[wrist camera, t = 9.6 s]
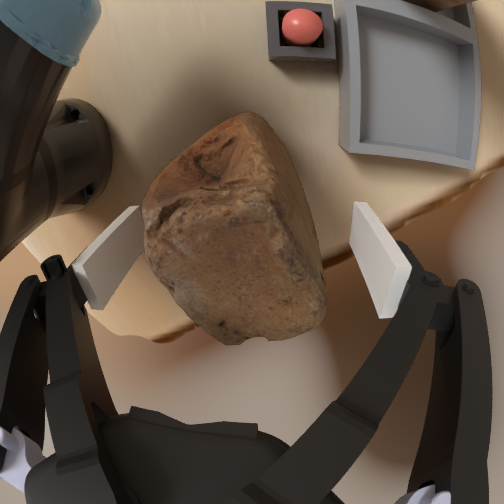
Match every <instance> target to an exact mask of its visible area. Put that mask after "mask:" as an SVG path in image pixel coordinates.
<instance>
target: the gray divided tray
mask: <svg viewBox="0 0 504 504" xmlns="http://www.w3.org/2000/svg"><path fill="white" fill-rule="evenodd" d="M334 4H335V14H336V25H337V39H338V57H339V98H340V106H339V146H341V147H342V148H343V149H345V150H346V151H347V152H348V153H360V154H372V155H382V156H391V157H399V158H407V159H414V160H421V161H428V162H434V163H440V164H445V165H451V166H456V167H461V168H466V169H470V170H474V167H475V161H476V154H477V147H478V138H479V127H480V112H481V70H480V55H479V45H478V36H477V29H476V23H475V18H474V12H473V8H472V3H471V2H468V3H465V4H461V5H457V6H454V7H451V8H447V9H444V10H441V11H438V12H433V11H431V10H428V9H425V8H423V7H420V6H417V5H414V4H411V3H408V2H405V1H402V0H334Z"/></svg>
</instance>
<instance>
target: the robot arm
mask: <svg viewBox="0 0 504 504" xmlns="http://www.w3.org/2000/svg"><path fill="white" fill-rule="evenodd" d="M100 15H101V4H100V1H99V0H0V261H1V260H2V259H3V258H4V257H5V256H6V255H7V254H9V253H10V252H11V251H12V250H13V249H14V248H15V247H16V246H17V245H18V244H19V243H20V242H21V241H22V240H24V239H25V238H26V237H27V236H28V235H29V234H30V233H32V232H33V231H34V230H35V229H36V228H37V227H39V226H40V225H41V224H42V223H43V222H44V221H46V220H47V219H48V218H52V217H56V216H60V215H64V214H68V213H72V212H76V211H79V210H81V209H83V208H84V207H86V206H87V205H88V204H90V203H91V202H92V201H94V200H95V199H96V198H97V197H98V196H99V195H100V194H101V193H102V191H103V190H104V188H105V186H106V184H107V182H108V179H109V176H110V172H111V166H112V145H111V140H110V135H109V132H108V129H107V127H106V124H105V122H104V121H103V119H102V117H101V116H100V114H99V113H98V112H97V111H96V110H95V109H94V108H93V107H92V106H91V105H90V104H88V103H86V102H84V101H82V100H79V99H64V100H59V101H56V100H57V98H58V95H59V93H60V91H61V89H62V87H63V84H64V82H65V80H66V78H67V76H68V74H69V72H70V70H71V68H72V67H74V66H76V65H77V63H78V61H79V54H80V53H81V51H82V49H83V47H84V45H85V43H86V41H87V40H88V38H89V36H90V34H91V33H92V31H93V29H94V28H95V26H96V24H97V23H98V21H99V18H100ZM144 230H145V227H144V223H143V219H142V215H141V210H140V206H129V207H128V208H127V209H126V210H125V211H124V212H123V213H122V214H121V215H120V216H119V217H117V218H116V219H115V220H114V221H113V222H112V223H111V224H110V225H109V226H108V227H107V228H106V229H105V230H104V231H103V232H102V233H101V234H100V235H99V236H98V237H97V238H96V239H95V240H94V241H93V242H92V243H91V244H90V245H89V246H88V247H86V248H85V250H84V251H83V252H82V254H80V255H79V256H78V258H76V259H75V260H74V261H73V262H72V263H71V265H70V266H69V267H68V268H66V266H65V264H64V261H63V259H62V256H61V255H54V256H51V257H49V258H47V259H46V260H45V261H44V262H43V263H42V264H41V269H42V271H43V273H44V276H45V277H46V280H47V281H44V282H40V280H39V278H38V276H37V275H31V276H28V277H27V278H25V279H24V280H23V281H22V283H21V284H20V286H19V288H18V291H17V293H16V295H15V297H14V300H13V302H12V304H11V307H10V310H9V312H8V314H7V317H6V320H5V323H4V325H3V328H2V331H1V333H0V478H1V479H3V480H5V481H7V482H9V483H10V484H12V485H13V486H14V487H16V488H17V489H19V490H20V491H22V492H23V493H25V497H26V503H27V504H344V502H342V501H341V500H340V499H339V498H338V497H337V496H336V495H335V494H334V493H333V492H332V491H331V490H332V489H333V487H334V486H335V485H336V484H337V483H338V482H339V481H340V479H341V478H342V477H343V476H344V475H345V473H346V472H347V471H348V469H349V468H350V467H351V466H352V464H353V463H354V462H355V461H356V459H357V458H358V457H359V455H360V454H361V453H362V451H363V450H364V448H365V447H366V446H367V444H368V443H369V441H370V440H371V438H372V437H373V435H374V434H375V432H376V430H377V428H378V425H379V423H380V421H381V420H382V418H383V416H384V415H385V413H386V411H387V410H388V408H389V406H390V405H391V403H392V401H393V399H394V398H395V396H396V394H397V392H398V390H399V389H400V387H401V385H402V383H403V381H404V379H405V377H406V375H407V373H408V371H409V369H410V367H411V365H412V363H413V361H414V359H415V357H416V354H417V352H418V350H419V348H420V345H421V343H422V341H423V338H424V336H425V333H426V331H427V329H432V330H436V341H435V356H434V367H433V375H432V383H431V390H430V397H429V403H428V408H427V413H426V418H425V423H424V428H423V432H422V436H421V441H420V445H419V448H418V451H417V455H416V458H415V462H414V465H413V468H412V472H411V476H410V479H409V484H408V489H407V494H405V495H404V496H402V497H400V498H399V499H398V500H397V501H396V502H395V504H489V484H488V469H487V457H488V450H489V443H490V433H491V420H492V367H491V354H490V344H489V336H488V329H487V322H486V316H485V311H484V305H483V300H482V296H481V291H480V289H479V287H478V286H477V285H476V284H475V283H473V282H472V281H470V280H467V279H460V280H459V281H458V282H457V284H456V286H455V287H450V286H445V285H442V281H441V279H440V278H439V277H438V276H437V275H435V274H433V273H431V272H428V271H425V270H424V269H423V267H422V266H421V264H420V263H419V262H418V260H417V259H416V258H415V255H414V254H413V253H412V251H411V250H410V249H409V248H408V246H407V245H406V244H404V243H403V242H401V241H394V239H393V238H392V236H391V235H390V233H389V232H388V231H387V229H386V228H385V226H384V225H383V224H382V222H381V221H380V220H379V218H378V217H377V216H376V214H375V213H374V212H373V210H372V209H371V208H370V206H369V205H368V204H367V202H355V201H354V207H353V216H352V223H351V231H350V238H349V244H350V246H351V248H352V251H353V253H354V255H355V258H356V260H357V262H358V264H359V267H360V269H361V272H362V274H363V277H364V279H365V282H366V284H367V287H368V289H369V292H370V295H371V297H372V300H373V302H374V305H375V308H376V310H377V313H378V316H379V318H392V317H393V318H392V320H391V322H390V324H389V325H388V327H387V329H386V330H385V332H384V334H383V335H382V337H381V338H380V340H379V341H378V343H377V344H376V346H375V348H374V349H373V351H372V352H371V354H370V355H369V357H368V358H367V360H366V361H365V362H364V364H363V365H362V367H361V368H360V370H359V371H358V372H357V374H356V375H355V376H354V378H353V379H352V381H351V382H350V383H349V385H348V386H347V387H346V388H345V390H344V391H343V392H342V394H341V395H340V396H339V397H338V399H337V400H336V401H333V402H332V403H331V404H330V405H329V406H328V407H327V408H326V409H325V410H324V411H323V413H322V414H321V415H320V416H319V417H318V418H317V420H316V421H315V422H314V423H313V424H312V425H311V426H310V427H309V428H308V429H307V431H306V432H305V433H304V434H303V435H302V436H301V437H300V438H299V439H298V440H297V441H296V442H295V443H294V444H293V445H292V446H291V447H290V446H289V445H288V444H286V443H285V442H283V441H282V440H280V439H278V438H276V437H275V436H272V435H270V434H267V433H264V432H261V431H258V424H256V423H237V422H225V421H222V422H214V423H206V424H195V425H188V424H185V423H182V422H180V421H178V420H175V419H173V418H171V417H168V416H166V415H164V414H162V413H160V412H157V411H152V410H147V409H143V408H139V407H135V406H131V409H130V412H129V413H126V414H120V415H119V414H118V413H117V411H116V409H115V406H114V404H113V401H112V398H111V396H110V393H109V390H108V387H107V384H106V381H105V378H104V375H103V372H102V369H101V365H100V362H99V359H98V355H97V352H96V348H95V345H94V341H93V336H92V332H91V328H90V324H89V319H88V315H87V310H86V308H85V306H84V304H85V303H86V301H88V303H89V305H90V307H91V309H96V310H103V309H104V308H105V306H106V304H107V303H108V301H109V300H110V298H111V297H112V295H113V293H114V292H115V290H116V289H117V287H118V286H119V284H120V283H121V281H122V280H123V278H124V277H125V275H126V274H127V272H128V271H129V270H130V268H131V267H132V265H133V264H134V262H135V261H136V260H137V258H138V257H139V255H140V254H141V253H142V251H143V250H144V242H143V236H144ZM397 309H398V310H397ZM34 314H35V315H36V318H35V316H34ZM48 370H49V375H50V384H48V385H47V379H48ZM45 406H46V412H47V417H48V422H49V427H50V432H51V436H52V440H53V444H54V448H55V452H56V453H54V454H52V455H51V456H49V457H48V458H46V457H45V456H43V455H42V450H43V444H44V443H43V442H44V432H45Z"/></svg>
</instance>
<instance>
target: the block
mask: <svg viewBox="0 0 504 504" xmlns="http://www.w3.org/2000/svg"><path fill="white" fill-rule="evenodd" d="M142 217H143V221H144V224H145V230H144V236H143V242H144V249H145V254H146V259H147V263H148V265H149V266H150V268H151V269H152V271H153V272H154V274H155V275H156V277H157V278H158V279H159V281H160V282H161V283H162V284H163V285H164V286H165V287H166V288H167V289H168V290H169V292H170V293H171V295H172V296H173V298H174V299H175V301H176V303H177V304H178V305H179V306H180V307H181V308H182V309H183V310H184V311H185V313H186V314H187V315H188V316H189V317H190V318H191V319H192V320H193V321H195V322H196V323H197V324H198V325H199V326H200V327H201V328H202V329H203V330H204V331H206V332H207V333H208V334H210V335H211V336H213V337H214V338H215V339H217V340H218V341H220V342H222V343H223V344H225V345H240V344H241V343H243V342H244V341H245V340H246V339H249V338H253V337H265V338H267V339H268V341H279V340H285V339H289V338H293V337H296V336H298V335H300V334H303V333H305V332H307V331H310V330H312V329H315V328H316V327H317V326H318V325H319V324H320V323H321V321H322V320H323V318H324V317H325V314H326V311H327V293H326V282H325V277H324V272H323V266H322V260H321V255H320V250H319V244H318V240H317V235H316V231H315V226H314V222H313V219H312V216H311V212H310V208H309V205H308V202H307V199H306V196H305V193H304V190H303V187H302V185H301V182H300V179H299V177H298V175H297V172H296V170H295V168H294V166H293V164H292V162H291V160H290V158H289V156H288V154H287V152H286V150H285V148H284V146H283V145H282V143H281V141H280V140H279V138H278V137H277V135H276V134H275V132H274V131H273V129H272V128H271V127H270V126H269V124H268V123H267V122H266V121H265V120H264V119H263V118H262V117H260V116H259V115H257V114H255V113H252V112H243V113H240V114H237V115H235V116H232V117H230V118H228V119H226V120H225V121H223V122H222V123H220V124H218V125H217V126H216V127H214V128H213V129H211V130H210V131H208V132H207V133H205V134H204V135H203V136H202V137H201V138H199V139H198V140H196V141H195V142H194V143H192V144H191V145H190V146H189V147H187V148H186V149H185V150H184V151H183V152H182V153H181V154H180V155H178V156H177V157H176V158H175V159H173V160H172V161H171V162H170V163H169V164H168V165H167V166H166V167H165V168H164V169H163V170H162V172H161V173H160V174H159V175H158V176H157V178H156V179H155V180H154V181H153V182H152V183H151V184H150V187H149V189H148V193H147V195H146V196H145V197H144V198H143V204H142Z"/></svg>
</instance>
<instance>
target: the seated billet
mask: <svg viewBox="0 0 504 504" xmlns="http://www.w3.org/2000/svg"><path fill="white" fill-rule="evenodd" d="M402 1H405V2H408V3H411V4H414V5H417V6H420V7H423V8H425V9H428V10H431V11H433V12H438V11H441V10H444V9H447V8H451V7H454V6H457V5H461V4H465V3H468V2H472V1H477V0H402Z"/></svg>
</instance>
